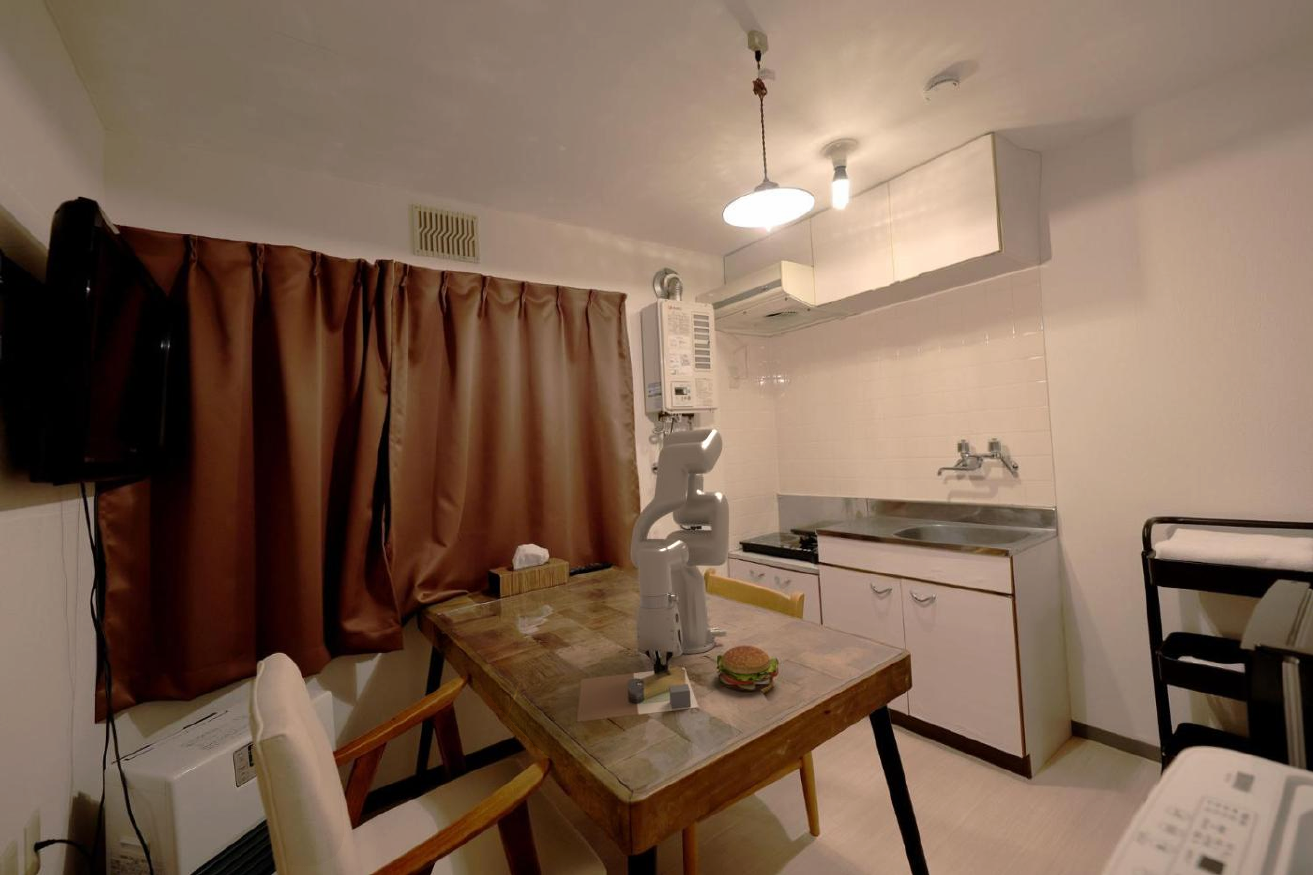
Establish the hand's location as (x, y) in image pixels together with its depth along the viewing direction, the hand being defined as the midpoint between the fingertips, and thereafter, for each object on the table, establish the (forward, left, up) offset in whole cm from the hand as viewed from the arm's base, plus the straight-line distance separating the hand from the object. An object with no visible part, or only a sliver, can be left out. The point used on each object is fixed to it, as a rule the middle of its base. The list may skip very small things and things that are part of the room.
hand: (661, 679), depth 118 cm
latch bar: (+2, +5, 0) cm, 5 cm away
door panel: (+6, +4, -2) cm, 7 cm away
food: (-20, +3, -2) cm, 20 cm away
